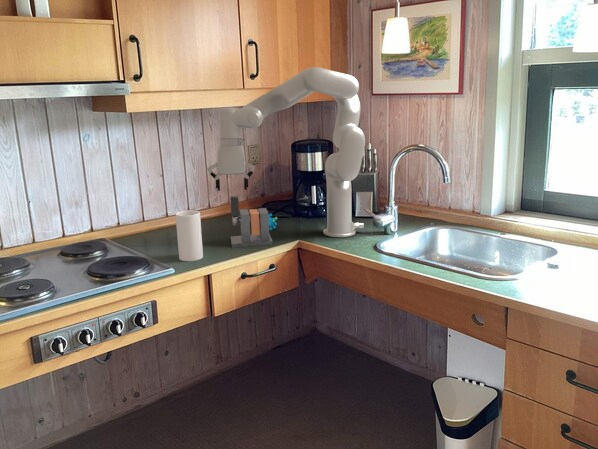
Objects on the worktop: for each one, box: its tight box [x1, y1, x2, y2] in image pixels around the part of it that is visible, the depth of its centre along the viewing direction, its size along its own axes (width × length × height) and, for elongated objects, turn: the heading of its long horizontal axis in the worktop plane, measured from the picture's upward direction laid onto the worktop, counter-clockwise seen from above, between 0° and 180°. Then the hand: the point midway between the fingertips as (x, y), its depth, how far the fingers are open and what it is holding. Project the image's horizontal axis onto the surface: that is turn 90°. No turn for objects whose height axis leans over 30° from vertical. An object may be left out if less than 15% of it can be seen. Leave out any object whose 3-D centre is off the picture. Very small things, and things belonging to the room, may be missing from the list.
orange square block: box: [248, 208, 260, 235], centre depth 207 cm, size 3×8×8 cm, turn 9°
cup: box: [175, 209, 204, 262], centre depth 191 cm, size 8×8×16 cm
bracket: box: [230, 207, 274, 249], centre depth 207 cm, size 15×10×12 cm, turn 99°
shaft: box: [229, 195, 260, 227], centre depth 205 cm, size 12×4×11 cm, turn 99°
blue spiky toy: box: [269, 213, 278, 232], centre depth 227 cm, size 11×6×10 cm
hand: (232, 189), depth 202 cm, fingers open, 9 cm apart
